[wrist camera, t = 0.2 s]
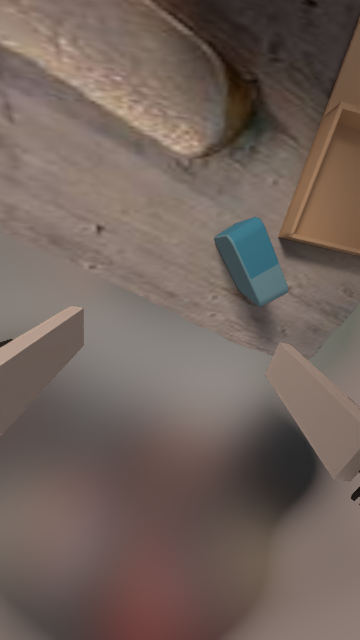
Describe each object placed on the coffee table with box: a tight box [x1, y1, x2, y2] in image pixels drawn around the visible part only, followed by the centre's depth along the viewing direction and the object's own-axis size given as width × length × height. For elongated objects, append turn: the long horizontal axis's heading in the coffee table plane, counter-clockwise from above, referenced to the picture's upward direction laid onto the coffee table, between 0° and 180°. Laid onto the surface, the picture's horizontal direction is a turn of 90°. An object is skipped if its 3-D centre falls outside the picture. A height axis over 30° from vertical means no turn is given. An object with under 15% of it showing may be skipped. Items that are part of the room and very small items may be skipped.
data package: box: [214, 217, 288, 307], centre depth 31 cm, size 12×4×12 cm, turn 31°
